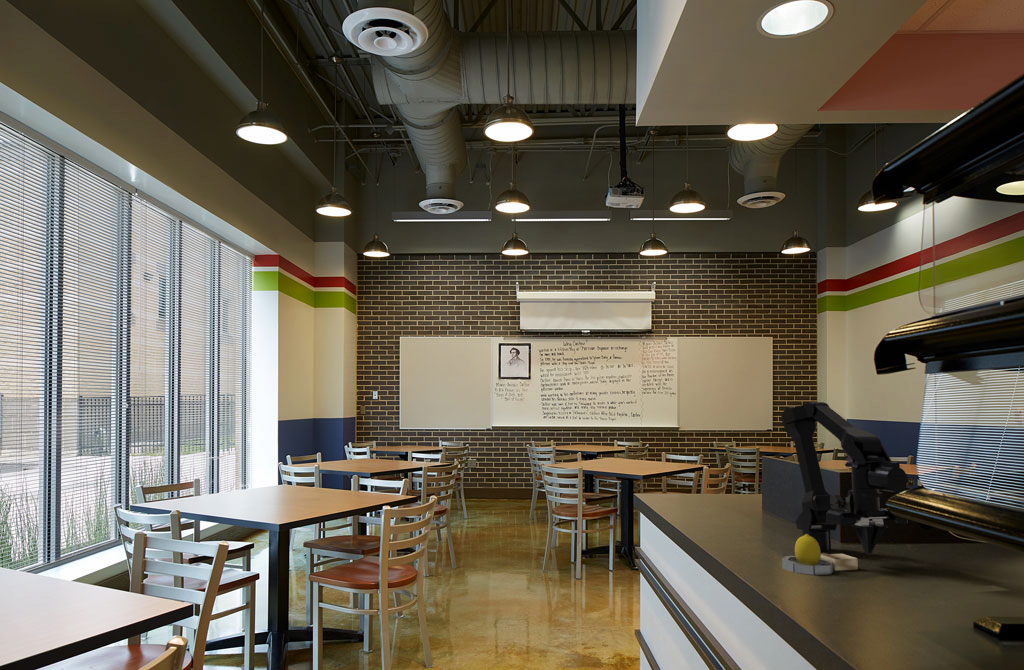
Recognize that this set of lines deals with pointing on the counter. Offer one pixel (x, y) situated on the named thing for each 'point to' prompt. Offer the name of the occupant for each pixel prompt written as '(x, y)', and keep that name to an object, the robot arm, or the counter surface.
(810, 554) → the lemon
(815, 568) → the ring
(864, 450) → the robot arm
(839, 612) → the counter surface
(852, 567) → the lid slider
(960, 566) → the counter surface
